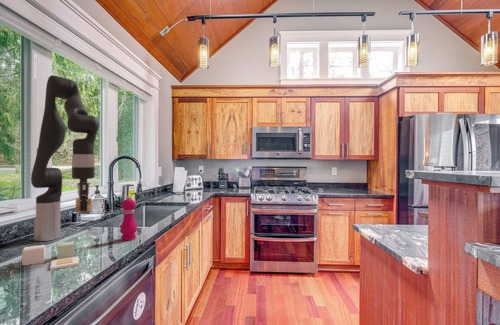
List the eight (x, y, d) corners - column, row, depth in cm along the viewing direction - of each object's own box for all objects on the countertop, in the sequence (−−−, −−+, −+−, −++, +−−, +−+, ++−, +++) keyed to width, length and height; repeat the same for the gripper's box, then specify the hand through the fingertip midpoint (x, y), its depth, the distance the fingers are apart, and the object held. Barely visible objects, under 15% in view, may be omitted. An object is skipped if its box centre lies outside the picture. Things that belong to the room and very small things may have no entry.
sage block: (57, 260, 100) (57, 246, 100) (58, 256, 104) (58, 243, 104) (73, 257, 102) (73, 244, 102) (73, 253, 106) (73, 241, 106)
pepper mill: (140, 237, 129) (140, 195, 129) (129, 241, 122) (128, 197, 123) (128, 236, 132) (128, 194, 132) (116, 240, 125) (116, 196, 125)
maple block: (75, 213, 103) (76, 199, 103) (75, 211, 107) (75, 198, 107) (91, 211, 106) (91, 199, 106) (90, 210, 110) (90, 197, 110)
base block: (22, 266, 94) (21, 251, 94) (24, 261, 99) (24, 247, 99) (43, 262, 97) (43, 248, 97) (45, 258, 102) (45, 244, 102)
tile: (50, 270, 90) (50, 267, 90) (51, 262, 97) (51, 260, 97) (78, 265, 94) (78, 262, 94) (78, 258, 101) (78, 255, 101)
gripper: (96, 166, 102) (95, 211, 102) (93, 166, 114) (93, 206, 114) (72, 166, 98) (72, 213, 98) (71, 166, 110) (71, 208, 110)
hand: (83, 209), depth 106 cm, fingers closed on maple block, 5 cm apart
